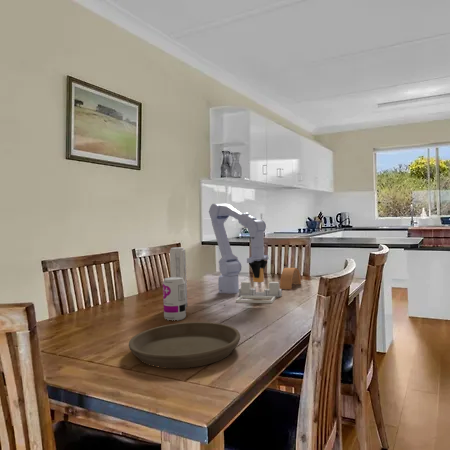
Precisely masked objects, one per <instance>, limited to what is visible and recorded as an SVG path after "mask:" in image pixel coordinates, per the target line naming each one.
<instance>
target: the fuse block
mask: <svg viewBox="0 0 450 450" xmlns="http://www.w3.org/2000/svg"><path fill="white" fill-rule="evenodd" d="M282 290H283V289H280V288H279V294H269V288H264V291H261V292H260V291H257V289H256V288H254V287H251V289H250V294H245V293H241V287H239V292H238V298H239V297H240V296H275V298H280V297H282V295H283V292H282Z"/></svg>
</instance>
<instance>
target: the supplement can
mask: <svg viewBox="0 0 450 450" xmlns="http://www.w3.org/2000/svg"><path fill="white" fill-rule="evenodd" d="M162 296H163V299H162V301H163V318H164V319H165V320H166V319H167V320H166V321H169V320H172V321H173V320H174V321H173V322H175V320H177V321H181V320H184V319H185V318H186V317H187V307H186V300H185V281H184V279H183V277H171V276H169V277H165V278H163V281H162Z"/></svg>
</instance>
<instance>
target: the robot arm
mask: <svg viewBox="0 0 450 450" xmlns="http://www.w3.org/2000/svg"><path fill="white" fill-rule="evenodd" d="M208 213H209V217H210V220H211V226H212V228H213V232H214V236H215V238H216V242H217V245H218V249H219V251H220V255H221V257H220V259H219V261H218V264H219V265H218V266H219V268H218V269H219V271H220V272H219V273H220V274H221V275H219V276H218V281H217V283H218V284H217V285H218V293H219V294H237V293H238V294H239V289H240V287H239V286H240V285H239V275H240V272H241V271H242V268H243V267H242V264H241V263H242V262H241V261H240V260H239V258H238V256H237V255H235V254H233V251H232V248H231V244H230V241H229V237H228V235H227V232H226V227H225V225H224V224H225V222H226V221H227V220H229V219H228V218H229V217H232V218H234V219H236V220H237V221H238V224H240V225H241V226H242V227H244V228H246V229H247V231H248V233H249V237H250V252H251V254H250V255H251V256H250V257H247V258H246V263H247V264H248V265H249V267H250V268H251V270H252V275H253V274H254V278H259V275H260V268H263V271H264V272H265V268H266V266H267V264H268V260H269V255H268V254H265V242H264V239H265V238H264V237H265V236H264V232H265V231H266V229H267V224H266V222H265V221H264V220H263V219H257V217H255V216H252V215H250V213H249V212H243V213H242V212H240V211H239V210H237V209H236V208H235V207H233V205H232V204H229V203H212V204H210V207H209V211H208Z"/></svg>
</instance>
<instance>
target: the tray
mask: <svg viewBox="0 0 450 450" xmlns="http://www.w3.org/2000/svg"><path fill="white" fill-rule="evenodd" d="M259 299H260V300H259ZM264 299H265V300H264ZM275 300H276V297H275V296H240V297H238V298H236V299H235V303H238V304H239V303H245V304H246V303H248V304H273V302H274V301H275Z"/></svg>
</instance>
